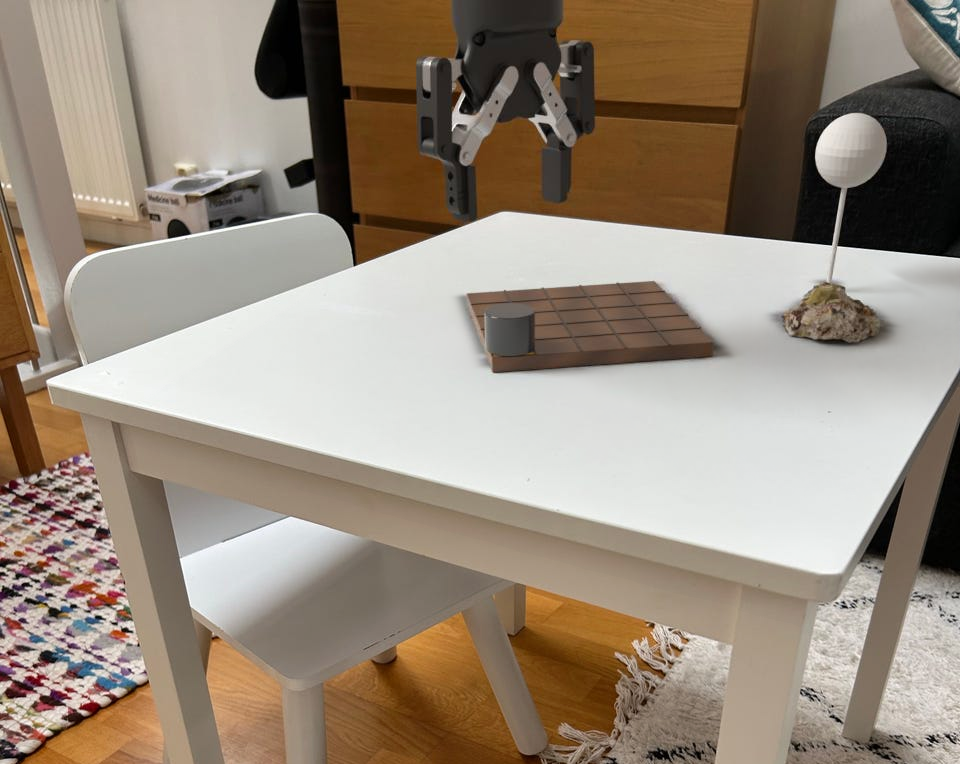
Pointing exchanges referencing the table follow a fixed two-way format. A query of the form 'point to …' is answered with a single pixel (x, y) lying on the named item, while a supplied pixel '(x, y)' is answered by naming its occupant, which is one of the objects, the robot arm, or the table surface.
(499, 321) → the dark grey cylinder
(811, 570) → the table surface
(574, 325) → the board
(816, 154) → the lollipop
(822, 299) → the mineral rock
